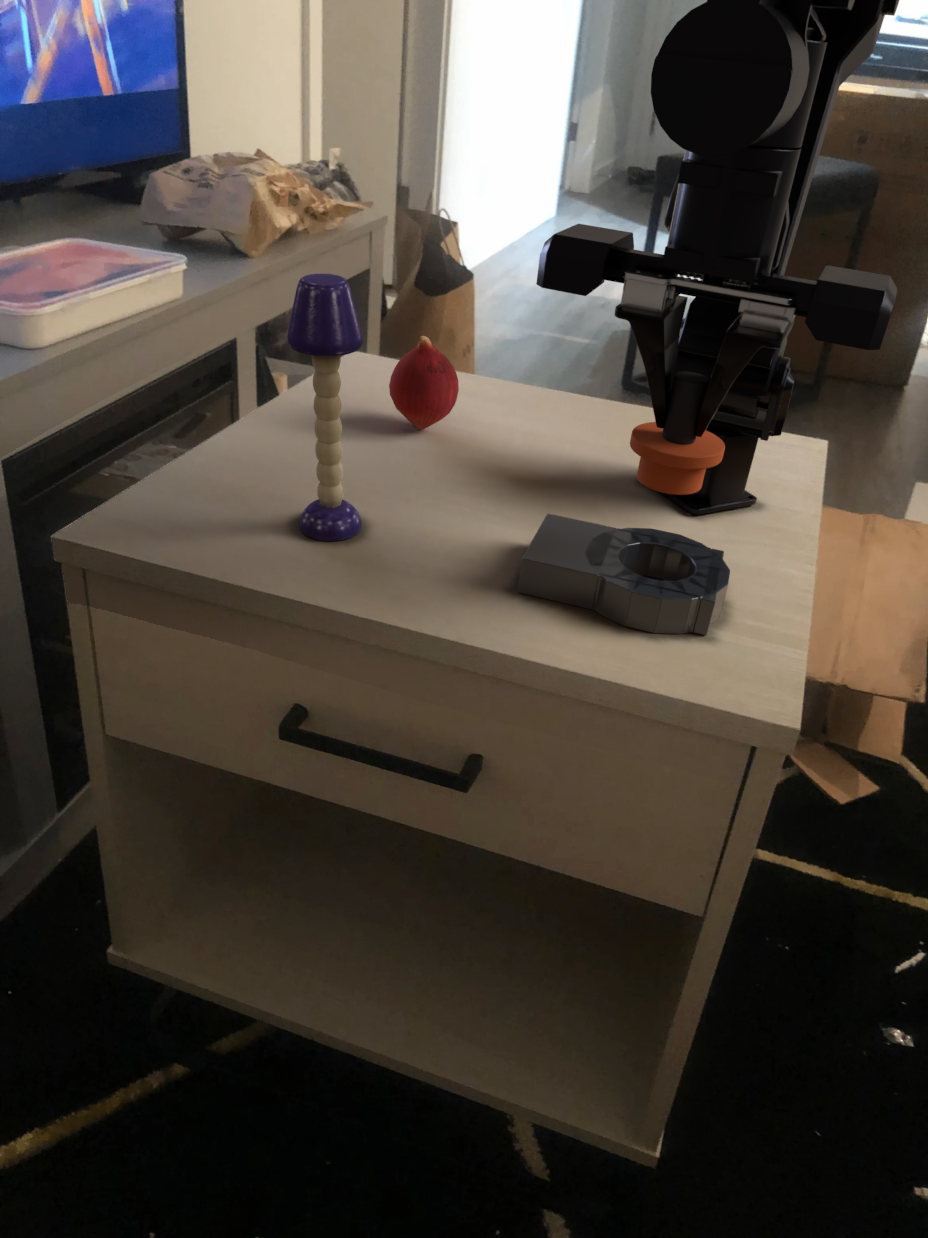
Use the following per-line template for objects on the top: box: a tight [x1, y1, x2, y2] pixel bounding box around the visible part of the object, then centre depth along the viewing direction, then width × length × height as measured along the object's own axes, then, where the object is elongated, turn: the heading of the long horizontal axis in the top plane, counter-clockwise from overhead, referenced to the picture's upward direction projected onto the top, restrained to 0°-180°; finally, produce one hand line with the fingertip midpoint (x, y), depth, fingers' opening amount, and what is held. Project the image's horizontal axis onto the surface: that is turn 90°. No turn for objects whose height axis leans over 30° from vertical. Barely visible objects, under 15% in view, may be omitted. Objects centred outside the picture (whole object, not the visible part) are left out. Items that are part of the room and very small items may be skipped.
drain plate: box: [517, 513, 731, 636], centre depth 61 cm, size 13×9×2 cm
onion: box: [388, 335, 460, 431], centre depth 80 cm, size 6×6×8 cm
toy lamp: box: [286, 273, 364, 542], centre depth 61 cm, size 5×5×17 cm
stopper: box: [629, 372, 725, 495], centre depth 57 cm, size 6×6×7 cm
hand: (680, 430), depth 57 cm, fingers closed on stopper
